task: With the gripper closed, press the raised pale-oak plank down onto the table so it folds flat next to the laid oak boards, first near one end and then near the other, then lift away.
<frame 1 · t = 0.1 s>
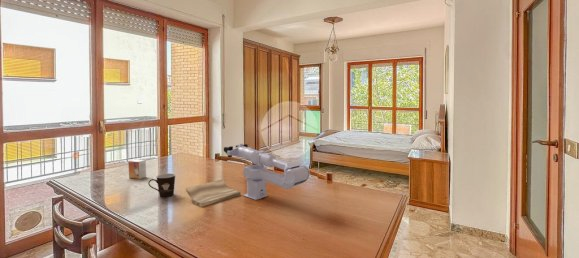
hand: (230, 148, 155), 22 cm above the table, tool horizontal, fingers open, 7 cm apart
plank: (208, 190, 145), point 3 cm above the table, hinge at 30.0°
small box: (137, 177, 179), on the table
coffee mug: (163, 195, 146), on the table
laid boards: (217, 198, 140), on the table
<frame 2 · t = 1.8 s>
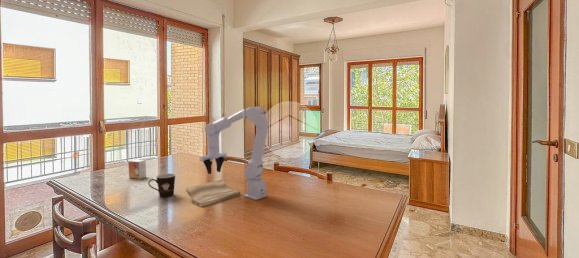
hand: (214, 172, 151), 10 cm above the table, tool pointing down, fingers open, 5 cm apart
nothing on the table moved.
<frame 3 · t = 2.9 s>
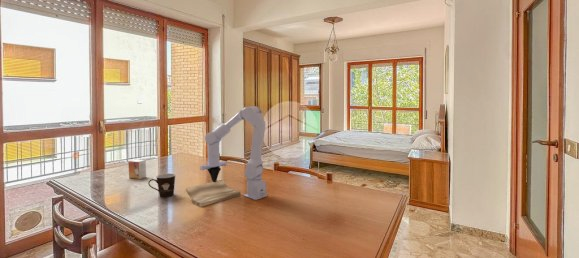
hand: (214, 181, 151), 5 cm above the table, tool pointing down, fingers closed, pressing on plank
plank: (208, 190, 145), point 3 cm above the table, hinge at 29.7°, touching gripper
everything else where it was.
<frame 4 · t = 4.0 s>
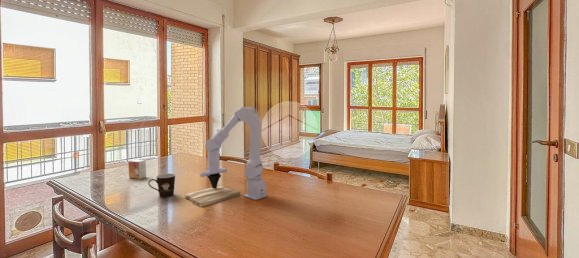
hand: (214, 188, 151), 2 cm above the table, tool pointing down, fingers closed, pressing on plank
plank: (207, 193, 146), point 1 cm above the table, hinge at 1.7°, touching gripper
everything else where it was.
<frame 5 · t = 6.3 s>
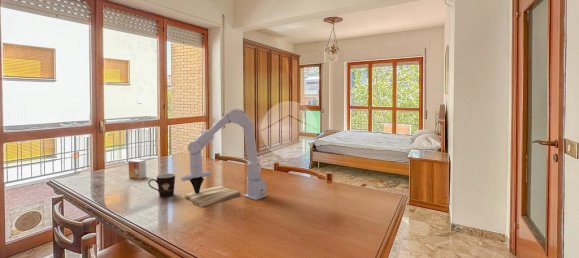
hand: (196, 192, 144), 2 cm above the table, tool pointing down, fingers closed, pressing on plank
plank: (207, 193, 146), point 1 cm above the table, hinge at 1.7°, touching gripper
everything else where it was.
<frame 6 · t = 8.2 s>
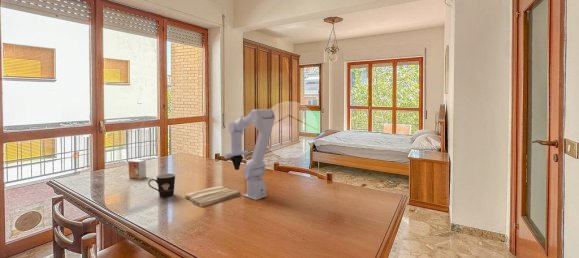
hand: (236, 169, 156), 10 cm above the table, tool pointing down, fingers closed
plank: (207, 193, 146), point 1 cm above the table, hinge at 1.6°
everything else where it was.
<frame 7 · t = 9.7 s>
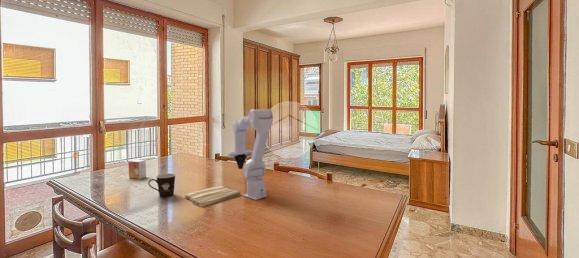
hand: (240, 168, 157), 10 cm above the table, tool pointing down, fingers closed
nothing on the table moved.
at the end: plank at +2° (first picture: +30°) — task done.
